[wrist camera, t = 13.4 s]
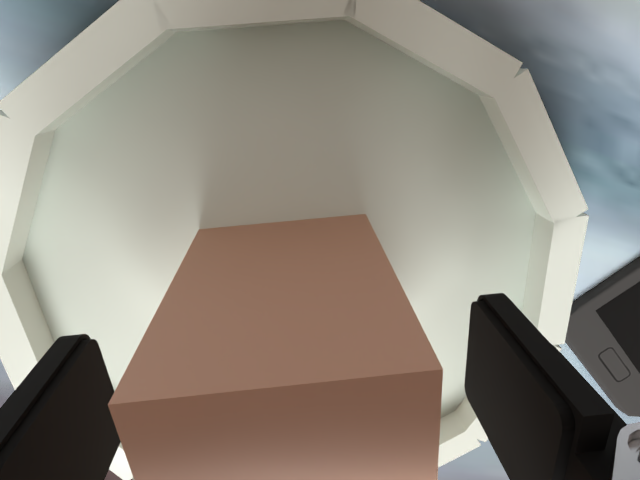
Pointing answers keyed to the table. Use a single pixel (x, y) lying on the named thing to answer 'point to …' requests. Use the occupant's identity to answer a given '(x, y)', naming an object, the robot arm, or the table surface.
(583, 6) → the table surface
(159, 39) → the dish
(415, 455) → the block
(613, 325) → the cell phone
